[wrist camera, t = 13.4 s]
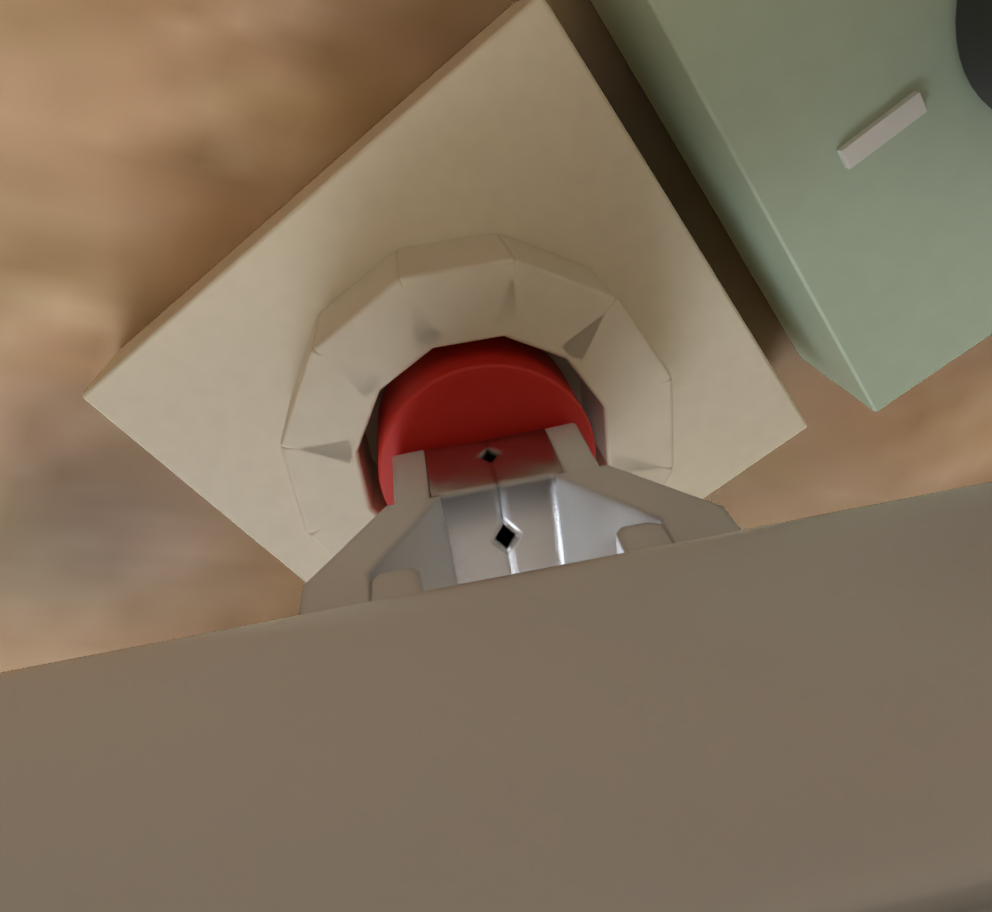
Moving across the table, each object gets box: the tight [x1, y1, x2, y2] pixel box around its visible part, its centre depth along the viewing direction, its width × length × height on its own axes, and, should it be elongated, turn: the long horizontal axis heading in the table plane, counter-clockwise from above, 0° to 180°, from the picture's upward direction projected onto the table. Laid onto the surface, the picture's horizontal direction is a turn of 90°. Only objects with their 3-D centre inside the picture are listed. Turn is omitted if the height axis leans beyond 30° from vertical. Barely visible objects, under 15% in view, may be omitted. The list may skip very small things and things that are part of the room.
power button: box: [378, 336, 596, 505], centre depth 13 cm, size 4×4×2 cm
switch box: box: [83, 0, 807, 583], centre depth 15 cm, size 10×10×4 cm
